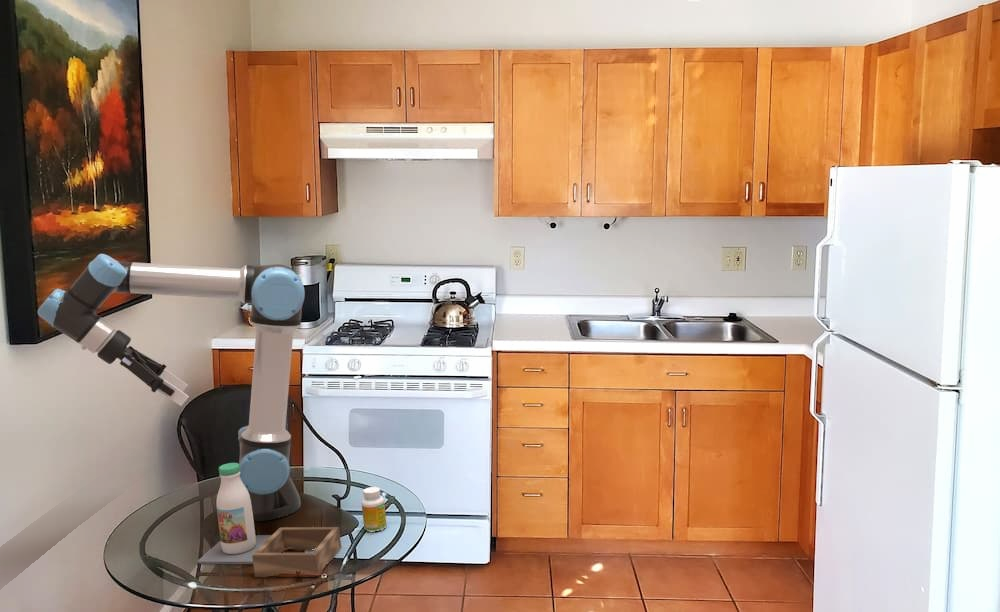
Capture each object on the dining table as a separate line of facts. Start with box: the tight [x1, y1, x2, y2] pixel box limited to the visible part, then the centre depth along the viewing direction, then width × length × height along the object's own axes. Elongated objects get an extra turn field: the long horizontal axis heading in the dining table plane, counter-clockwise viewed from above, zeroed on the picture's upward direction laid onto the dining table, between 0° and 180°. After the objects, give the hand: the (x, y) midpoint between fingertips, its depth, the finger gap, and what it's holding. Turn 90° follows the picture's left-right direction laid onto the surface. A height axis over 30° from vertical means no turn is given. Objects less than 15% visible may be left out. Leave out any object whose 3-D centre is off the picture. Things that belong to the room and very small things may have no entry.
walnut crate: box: [252, 526, 342, 578], centre depth 188 cm, size 14×14×5 cm
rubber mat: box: [196, 534, 273, 565], centre depth 197 cm, size 14×14×1 cm
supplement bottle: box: [361, 486, 387, 533], centre depth 203 cm, size 5×5×10 cm
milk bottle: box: [215, 462, 256, 554], centre depth 195 cm, size 8×8×20 cm
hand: (184, 395), depth 201 cm, fingers open, 13 cm apart
